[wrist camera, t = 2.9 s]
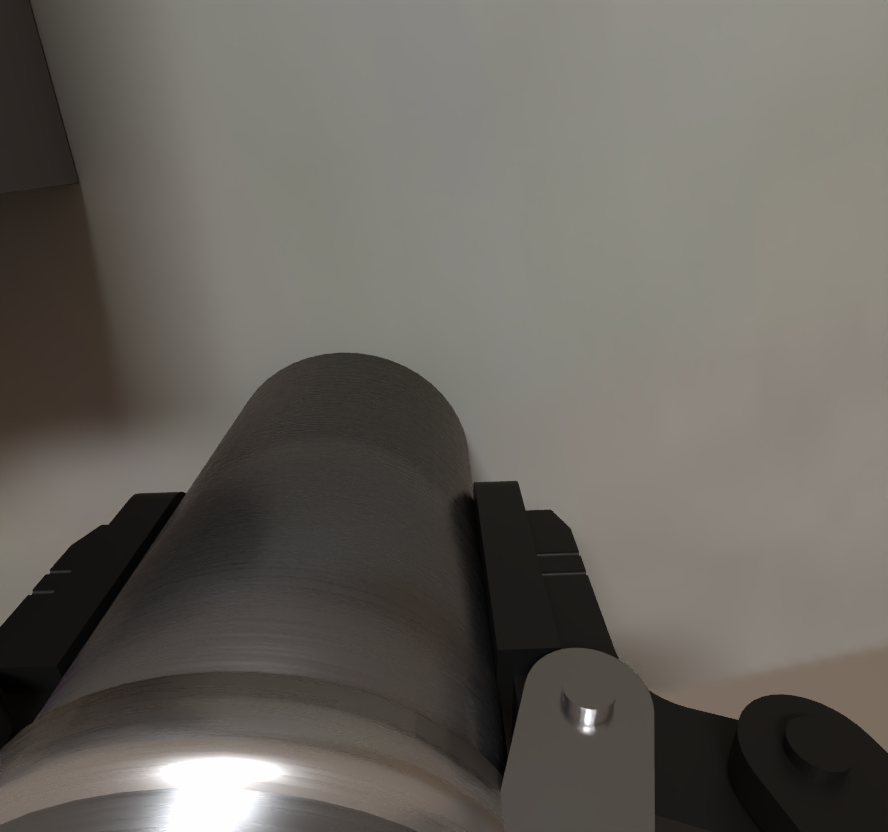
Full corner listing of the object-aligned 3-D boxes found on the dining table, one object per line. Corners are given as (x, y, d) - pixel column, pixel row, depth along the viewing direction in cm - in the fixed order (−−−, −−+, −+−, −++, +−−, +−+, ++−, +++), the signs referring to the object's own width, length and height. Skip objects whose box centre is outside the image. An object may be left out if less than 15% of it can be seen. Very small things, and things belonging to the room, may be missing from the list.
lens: (472, 343, 11) (607, 952, 3) (473, 555, 13) (550, 1249, 5) (206, 352, 11) (-451, 1000, 3) (251, 562, 13) (-44, 1281, 5)
